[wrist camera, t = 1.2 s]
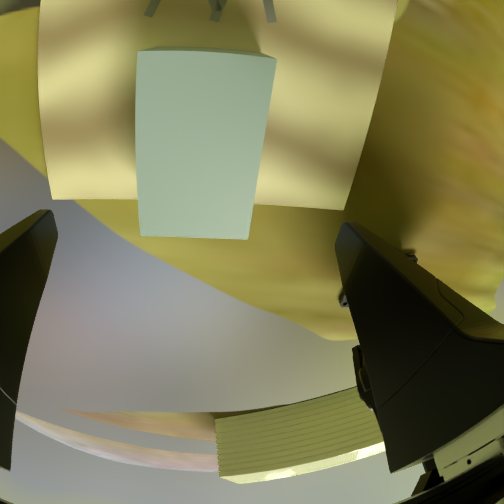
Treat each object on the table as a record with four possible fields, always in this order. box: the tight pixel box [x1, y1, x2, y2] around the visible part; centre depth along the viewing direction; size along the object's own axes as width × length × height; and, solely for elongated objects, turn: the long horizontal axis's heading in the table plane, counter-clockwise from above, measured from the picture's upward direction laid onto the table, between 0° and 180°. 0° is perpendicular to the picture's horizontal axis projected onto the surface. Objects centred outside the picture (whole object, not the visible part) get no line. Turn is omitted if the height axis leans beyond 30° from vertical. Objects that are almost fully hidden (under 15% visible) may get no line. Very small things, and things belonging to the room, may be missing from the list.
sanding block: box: [135, 47, 277, 240], centre depth 15 cm, size 9×6×4 cm, turn 172°
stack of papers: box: [215, 386, 386, 484], centre depth 45 cm, size 32×11×11 cm, turn 104°
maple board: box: [38, 0, 398, 210], centre depth 13 cm, size 22×20×2 cm
